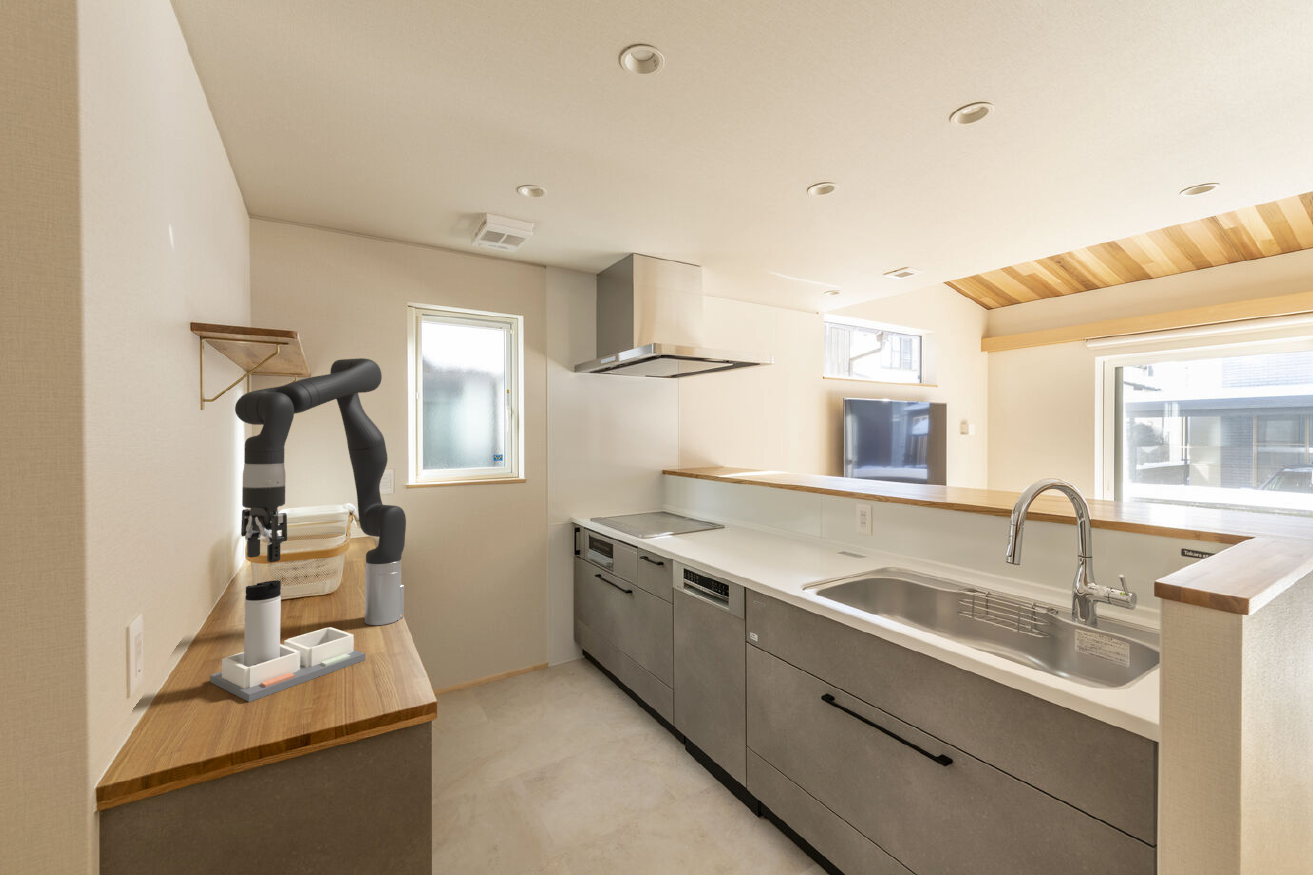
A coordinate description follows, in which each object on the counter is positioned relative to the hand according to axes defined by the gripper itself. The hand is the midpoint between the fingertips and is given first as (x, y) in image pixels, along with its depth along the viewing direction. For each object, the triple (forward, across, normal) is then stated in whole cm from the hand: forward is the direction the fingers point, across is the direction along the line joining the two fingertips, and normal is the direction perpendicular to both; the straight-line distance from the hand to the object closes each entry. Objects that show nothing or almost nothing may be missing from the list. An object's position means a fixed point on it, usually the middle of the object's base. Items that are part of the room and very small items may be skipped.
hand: (263, 559), depth 116 cm
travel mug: (+25, 0, 0) cm, 25 cm away
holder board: (+26, 0, -6) cm, 27 cm away
